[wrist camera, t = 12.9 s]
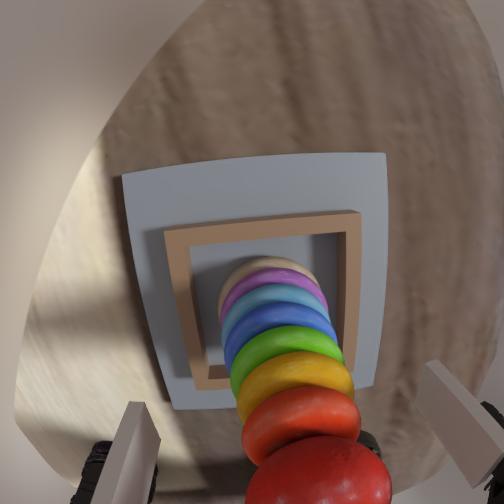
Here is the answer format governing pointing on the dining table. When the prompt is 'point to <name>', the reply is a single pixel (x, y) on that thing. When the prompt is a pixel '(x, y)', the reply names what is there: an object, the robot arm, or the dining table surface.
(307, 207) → the baseplate
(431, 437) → the dining table surface
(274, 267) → the stacking toy
